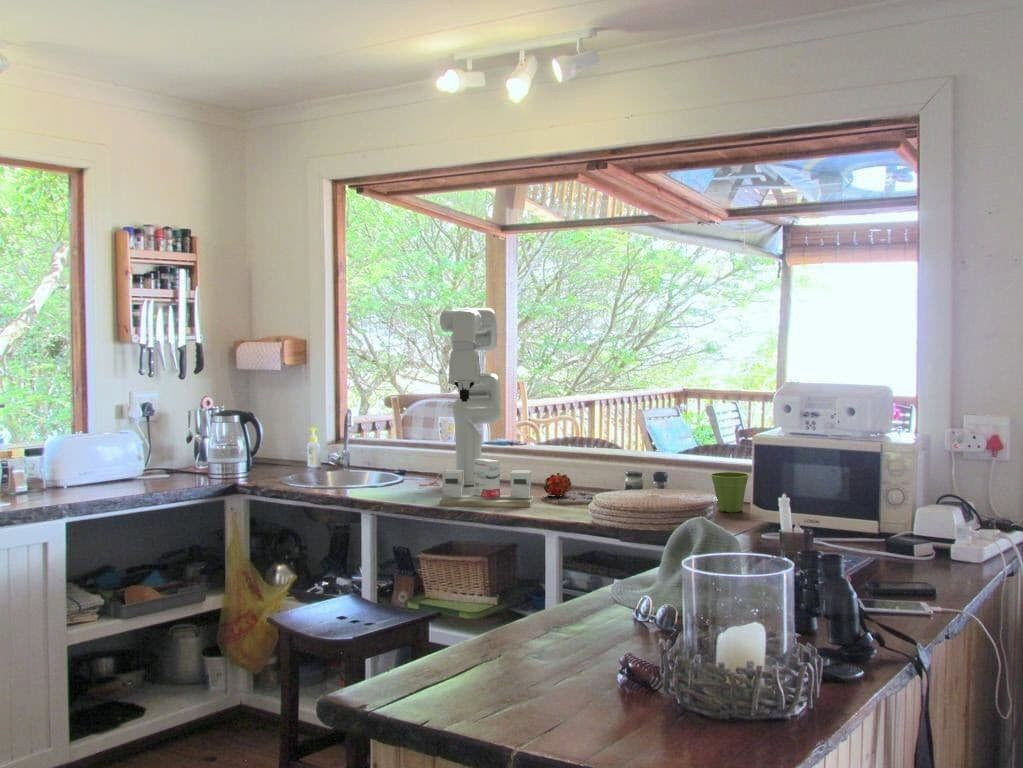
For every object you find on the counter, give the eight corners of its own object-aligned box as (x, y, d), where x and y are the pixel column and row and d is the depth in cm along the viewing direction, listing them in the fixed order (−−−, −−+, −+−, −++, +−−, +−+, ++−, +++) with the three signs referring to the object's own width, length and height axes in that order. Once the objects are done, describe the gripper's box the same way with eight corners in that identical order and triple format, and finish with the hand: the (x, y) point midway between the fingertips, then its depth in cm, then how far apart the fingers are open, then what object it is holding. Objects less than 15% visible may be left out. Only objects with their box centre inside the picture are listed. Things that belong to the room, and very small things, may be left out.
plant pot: (731, 506, 303) (731, 470, 303) (757, 512, 293) (758, 475, 292) (701, 509, 298) (702, 473, 297) (727, 515, 287) (727, 478, 287)
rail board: (445, 499, 319) (445, 468, 318) (533, 500, 316) (533, 469, 316) (439, 505, 307) (439, 473, 306) (530, 506, 304) (530, 474, 304)
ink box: (500, 496, 310) (500, 460, 309) (488, 498, 307) (487, 461, 306) (485, 493, 317) (485, 457, 316) (473, 495, 314) (472, 459, 313)
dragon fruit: (572, 499, 329) (548, 508, 321) (556, 482, 333) (532, 491, 325) (581, 481, 324) (557, 490, 316) (564, 464, 328) (540, 473, 320)
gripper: (487, 346, 327) (487, 400, 328) (443, 346, 328) (444, 400, 329) (485, 347, 319) (485, 402, 321) (440, 347, 321) (440, 402, 322)
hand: (464, 401), depth 325 cm, fingers closed
